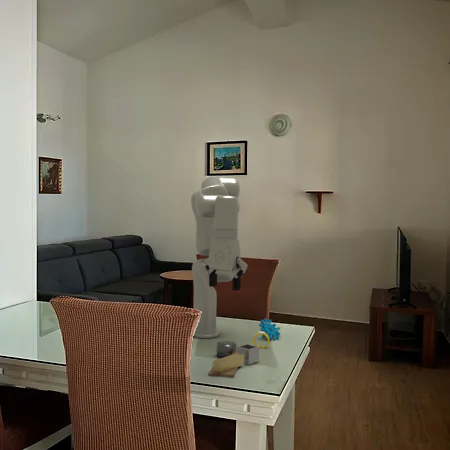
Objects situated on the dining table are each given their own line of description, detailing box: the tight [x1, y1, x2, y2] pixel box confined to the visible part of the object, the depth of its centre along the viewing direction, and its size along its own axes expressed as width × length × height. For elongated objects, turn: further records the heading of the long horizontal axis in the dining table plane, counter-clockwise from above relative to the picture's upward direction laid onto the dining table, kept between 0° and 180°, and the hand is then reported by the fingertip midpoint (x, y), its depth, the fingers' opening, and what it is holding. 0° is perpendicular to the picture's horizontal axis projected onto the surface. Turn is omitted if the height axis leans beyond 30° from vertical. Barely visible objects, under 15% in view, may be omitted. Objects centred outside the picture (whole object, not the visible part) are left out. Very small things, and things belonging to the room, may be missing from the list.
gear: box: [258, 318, 281, 341], centre depth 200 cm, size 11×6×10 cm
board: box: [207, 365, 238, 378], centre depth 156 cm, size 8×8×1 cm
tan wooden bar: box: [212, 353, 245, 373], centre depth 158 cm, size 3×3×12 cm
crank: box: [216, 340, 260, 366], centre depth 171 cm, size 16×7×5 cm, turn 47°
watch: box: [252, 330, 270, 349], centre depth 186 cm, size 6×3×6 cm, turn 77°
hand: (224, 288), depth 156 cm, fingers open, 9 cm apart
